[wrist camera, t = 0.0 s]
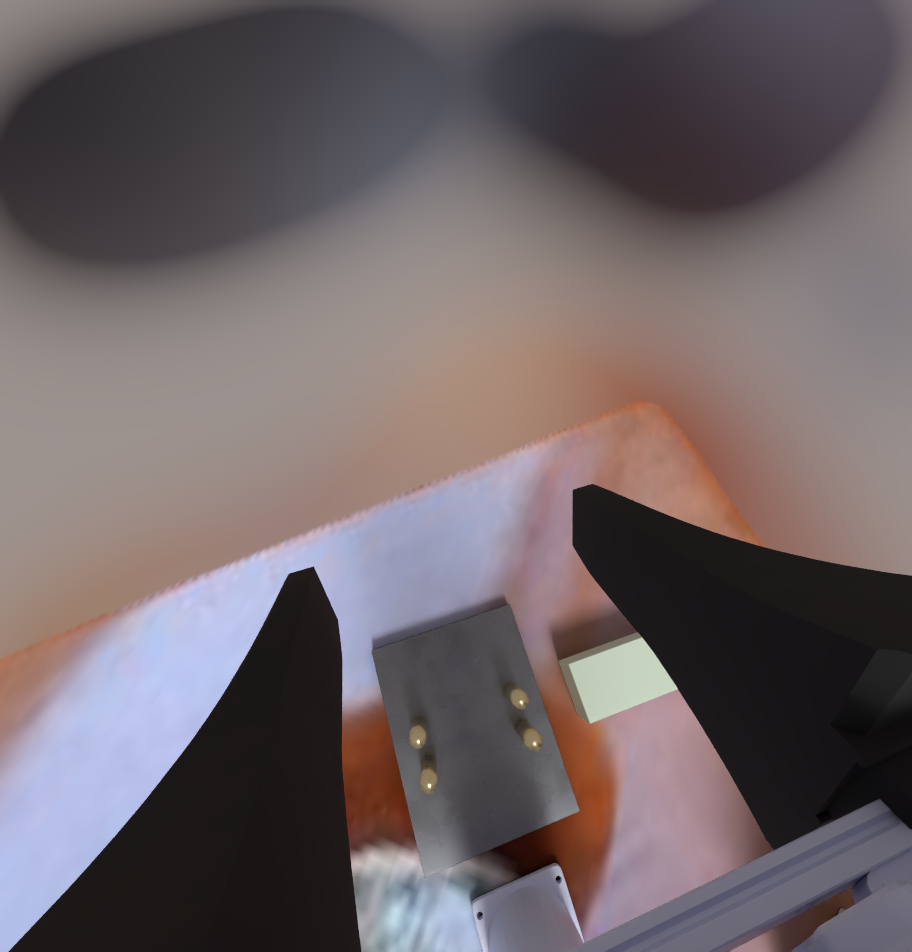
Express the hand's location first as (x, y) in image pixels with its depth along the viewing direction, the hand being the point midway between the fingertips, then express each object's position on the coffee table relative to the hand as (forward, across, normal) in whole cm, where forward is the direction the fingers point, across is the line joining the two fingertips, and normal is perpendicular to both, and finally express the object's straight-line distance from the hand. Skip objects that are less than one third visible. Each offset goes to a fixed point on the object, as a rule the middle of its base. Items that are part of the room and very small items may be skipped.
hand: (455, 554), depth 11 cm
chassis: (+12, 0, +32) cm, 34 cm away
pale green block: (+12, -16, +32) cm, 38 cm away
